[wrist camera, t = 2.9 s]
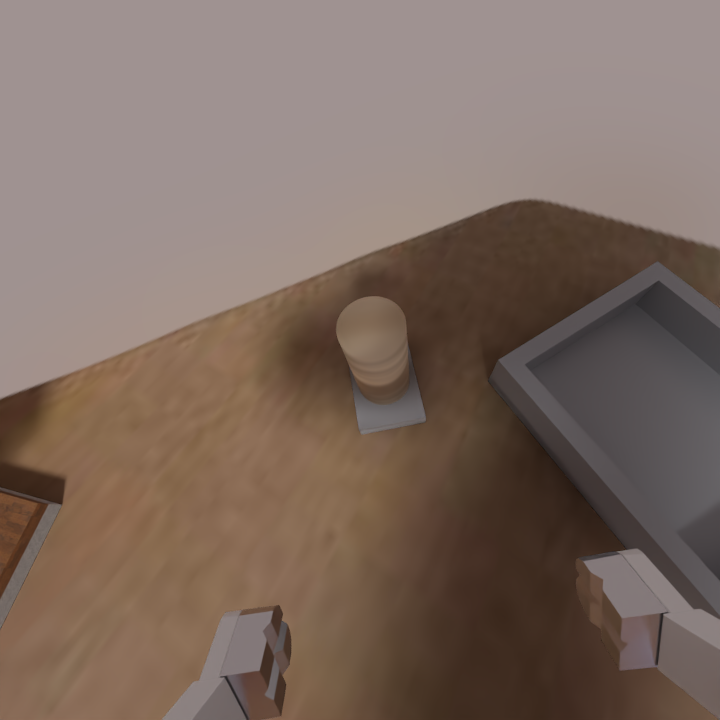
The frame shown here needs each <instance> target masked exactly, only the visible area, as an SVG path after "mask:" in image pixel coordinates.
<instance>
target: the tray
mask: <svg viewBox="0 0 720 720" xmlns="http://www.w3.org/2000/svg"><path fill="white" fill-rule="evenodd" d="M488 382H489V383H490V384H491V385H492V387H493V388H494V389H495V390H496V391H497V393H498V394H499V395H500V396H501V397H502V399H503V400H504V401H505V402H506V404H507V405H508V406H509V407H510V408H511V410H512V411H513V412H514V413H515V414H516V416H517V417H518V418H519V419H520V420H521V422H522V423H523V424H524V425H525V427H526V428H527V429H528V430H529V431H530V433H531V434H532V435H533V436H534V437H535V439H536V440H537V441H538V442H539V444H540V445H541V446H542V447H543V448H544V450H545V451H546V452H547V453H548V454H549V456H550V457H551V458H552V459H553V460H554V462H555V463H556V464H557V465H558V467H559V468H560V469H561V470H562V471H563V473H564V474H565V475H566V476H567V477H568V479H569V480H570V481H571V482H572V484H573V485H574V486H575V487H576V488H577V490H578V491H579V492H580V493H581V494H582V496H583V497H584V498H585V499H586V501H587V502H588V503H589V504H590V505H591V507H592V508H593V509H594V510H595V511H596V513H597V514H598V515H599V516H600V517H601V519H602V520H603V521H604V522H605V524H606V525H607V526H608V527H609V528H610V530H611V531H612V532H613V533H614V534H615V536H616V537H617V538H618V539H619V541H620V542H621V543H622V544H623V545H624V547H625V548H626V549H627V550H629V549H639V550H640V551H642V552H643V553H644V554H645V555H646V557H647V558H648V559H649V560H650V561H651V562H652V563H653V564H654V565H655V567H656V568H657V569H658V570H659V571H660V572H661V573H662V574H663V576H664V577H665V578H666V579H667V580H668V581H669V582H670V583H671V584H672V586H673V587H674V588H675V589H676V590H677V591H678V592H679V593H680V595H681V596H682V597H683V598H684V599H685V600H686V601H687V602H688V604H689V605H690V606H691V607H692V608H693V609H702V610H704V611H705V612H707V613H709V614H711V615H712V616H714V617H716V618H718V619H720V308H719V307H717V306H716V305H715V304H713V303H712V302H711V301H709V300H708V299H707V298H705V297H704V296H703V295H701V294H700V293H699V292H697V291H696V290H695V289H694V288H692V287H691V286H690V285H688V284H687V283H686V282H684V281H683V280H682V279H680V278H679V277H678V276H676V275H675V274H674V273H672V272H671V271H670V270H669V269H667V268H666V267H665V266H663V265H662V264H661V263H659V262H658V261H657V262H656V263H654V264H653V265H651V266H649V267H648V268H646V269H644V270H643V271H641V272H640V273H638V274H636V275H635V276H633V277H631V278H630V279H628V280H627V281H625V282H623V283H622V284H620V285H619V286H617V287H615V288H614V289H612V290H610V291H609V292H607V293H606V294H604V295H602V296H601V297H599V298H597V299H596V300H594V301H593V302H591V303H589V304H588V305H586V306H585V307H583V308H581V309H580V310H578V311H576V312H575V313H573V314H572V315H570V316H568V317H567V318H565V319H563V320H562V321H560V322H559V323H557V324H555V325H554V326H552V327H551V328H549V329H547V330H546V331H544V332H542V333H541V334H539V335H538V336H536V337H534V338H533V339H531V340H529V341H528V342H526V343H525V344H523V345H521V346H520V347H518V348H517V349H515V350H513V351H512V352H510V353H508V354H507V355H505V356H504V357H502V358H500V359H499V360H498V361H497V363H496V365H495V367H494V369H493V371H492V373H491V375H490V377H489V380H488Z"/></svg>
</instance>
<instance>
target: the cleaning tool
mask: <svg viewBox="0 0 720 720" xmlns="http://www.w3.org/2000/svg"><path fill="white" fill-rule="evenodd" d="M336 334H337V338H338V341H339V343H340V345H341V348H342V350H343V352H344V355H345V357H346V359H347V362H348V364H349V370H350V376H351V382H352V389H353V395H354V401H355V408H356V414H357V420H358V427H359V431H360V432H361V434H367V433H373V432H378V431H383V430H388V429H393V428H399V427H404V426H409V425H414V424H419V423H425V422H426V415H425V411H424V407H423V403H422V399H421V395H420V391H419V387H418V383H417V379H416V374H415V370H414V366H413V362H412V358H411V354H410V350H409V346H408V342H407V326H406V318H405V315H404V313H403V311H402V310H401V308H400V307H399V306H398V305H397V304H396V303H394V302H393V301H391V300H389V299H387V298H384V297H379V296H369V297H364V298H360V299H358V300H355V301H354V302H352V303H350V304H349V305H348V306H347V307H346V308H345V309H344V310H343V311H342V312H341V314H340V316H339V318H338V320H337V324H336Z"/></svg>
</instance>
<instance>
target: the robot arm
mask: <svg viewBox="0 0 720 720" xmlns="http://www.w3.org/2000/svg"><path fill="white" fill-rule="evenodd" d="M575 568H576V570H577V571H578V573H579V574H580V576H579V577H578V578H577V579H576V591H577V594H578V598H579V601H580V603H581V606H582V608H583V610H584V612H585V614H586V615H587V617H588V619H589V621H590V622H592V623H593V624H594V625H596V626H597V627H599V628H600V629H601V641H602V642H603V644H604V646H605V647H606V649H607V651H608V652H609V654H610V656H611V657H612V659H613V661H614V662H615V664H616V666H617V667H618V669H619V671H621V670H631V669H641V668H650V667H658V668H657V669H658V670H659V671H660V672H662V673H663V674H664V675H665V676H666V677H668V678H669V679H670V680H671V681H673V682H674V683H675V684H676V685H677V686H679V687H680V688H681V689H682V690H684V691H685V692H686V693H687V694H688V695H690V696H691V697H692V698H693V699H695V700H696V701H697V702H698V703H700V704H701V705H702V706H703V707H704V708H706V709H707V710H708V711H709V712H711V713H712V714H713V715H714V716H715V717H717V718H718V719H719V720H720V619H718V618H716V617H714V616H712V615H711V614H709V613H707V612H705V611H704V610H702V609H693V608H692V607H691V606H690V605H689V604H688V602H687V601H686V600H685V599H684V598H683V597H682V596H681V595H680V593H679V592H678V591H677V590H676V589H675V588H674V587H673V586H672V584H671V583H670V582H669V581H668V580H667V579H666V578H665V577H664V576H663V574H662V573H661V572H660V571H659V570H658V569H657V568H656V567H655V565H654V564H653V563H652V562H651V561H650V560H649V559H648V558H647V557H646V555H645V554H644V553H643V552H642V551H640V550H639V549H629V550H623V551H617V552H614V551H613V552H607V553H602V554H596V555H590V556H584V557H579V558H577V559H576V564H575ZM282 616H283V612H282V610H281V608H280V606H279V605H276V606H269V607H261V608H253V609H245V610H238V611H231V612H225V614H224V615H223V617H222V618H221V620H220V623H219V626H218V628H217V631H216V634H215V637H214V640H213V642H212V645H211V648H210V651H209V654H208V657H207V659H206V662H205V665H204V668H203V671H202V673H201V676H200V679H199V681H194V682H193V683H192V684H191V685H190V686H189V688H188V689H187V690H186V691H185V692H184V694H183V695H182V696H181V697H180V698H179V700H178V701H177V702H176V703H175V704H174V705H173V707H172V708H171V709H170V710H169V711H168V713H167V714H166V715H165V716H164V717H163V719H162V720H262V719H268V718H274V717H280V716H281V715H282V708H283V702H284V696H285V690H286V683H285V680H284V678H283V676H282V675H283V674H284V672H285V671H286V669H287V668H288V666H289V665H290V658H291V634H290V630H289V627H288V624H286V623H285V622H283V621H282Z"/></svg>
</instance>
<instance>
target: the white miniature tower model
mask: <svg viewBox="0 0 720 720" xmlns="http://www.w3.org/2000/svg"><path fill="white" fill-rule="evenodd" d="M61 506H62V505H61V504H58V503H54V502H51V501H47V500H43V499H40V498H36V497H33V496H29V495H26V494H22V493H19V492H15V491H12V490H8V489H5V488H1V487H0V629H1V627H2V625H3V623H4V621H5V619H6V617H7V615H8V613H9V611H10V609H11V606H12V604H13V602H14V600H15V598H16V596H17V594H18V592H19V590H20V588H21V586H22V584H23V582H24V580H25V578H26V576H27V574H28V572H29V570H30V568H31V566H32V564H33V562H34V560H35V558H36V556H37V554H38V552H39V550H40V548H41V546H42V544H43V542H44V540H45V538H46V536H47V534H48V532H49V530H50V528H51V526H52V524H53V522H54V520H55V518H56V516H57V514H58V512H59V510H60V508H61Z"/></svg>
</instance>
